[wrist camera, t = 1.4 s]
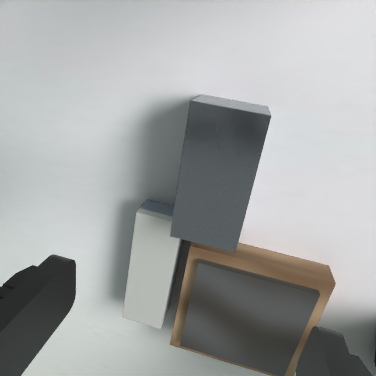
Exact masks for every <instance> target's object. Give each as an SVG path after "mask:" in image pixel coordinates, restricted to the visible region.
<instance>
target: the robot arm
mask: <svg viewBox="0 0 376 376" xmlns="http://www.w3.org/2000/svg"><path fill="white" fill-rule="evenodd" d="M75 295H76V263H75V261H74V260H72V259H68V258H65V257H61V256H57V255H51V256H49V257H48V258H47V259H46V260H45V261H43V262H42V263H41V264H40V265H39V266H38V267H37V266H33V265H32V266H30V267H28V268H26V269H24V270H22V271H20V272H18V273H16V274H15V275H13V276H12V277H11V278H10V279H9V280H8V281H6V282H5V283H4V284H3V286H2V287H0V376H21V375H22V373H23V372H24V371H25V369H26V368H27V367H28V365H29V364H30V363H31V361H32V360H33V359H34V358H35V356H36V355H37V354H38V352H39V351H40V350H41V348H42V347H43V346H44V344H45V343H46V342H47V340H48V339H49V338H50V336H51V335H52V334H53V332H54V331H55V330H56V329H57V327H58V326H59V325H60V323H61V322H62V321H63V319H64V318H65V317H66V315H67V314H68V313H69V311H70V309H71V308H72V305H73V303H74V300H75ZM296 376H372V375H371V373H370V372H369V371H368V369H367V368H366V367H365V365H364V364H363V362H362V361H361V360H360V358H359V357H357V356H354V355H350V354H349V352H348V349H347V346H346V343H345V340H344V337H343V335H342V334H341V333H339V332H335V331H332V330H328V329H324V328H321V327H317V326H314V327H313V328H312V329H311V332H310V334H309V336H308V338H307V341H306V343H305V345H304V347H303V350H302V352H301V354H300V357H299V359H298V363H297V369H296Z"/></svg>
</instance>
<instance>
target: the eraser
mask: <svg viewBox="0 0 376 376" xmlns="http://www.w3.org/2000/svg"><path fill="white" fill-rule="evenodd" d="M173 212H174V206H170V205H166V204H162V203H158V202H155V201H151V200H146V201H145V202H144V203H143V205H142V206H141V207H140V208H139V209H138V211H137V212H136V219H135V226H134V234H133V241H132V249H131V256H130V264H129V271H128V279H127V286H126V294H125V301H124V309H123V316H122V317H123V318H126V319H130V320H133V321H136V322H139V323H142V324H146V325H149V326H152V327H155V328H158V329H161V327H162V325H163V322H164V319H165V316H166V313H167V310H168V307H169V302H170V297H171V292H172V288H173V283H174V278H175V274H176V269H177V264H178V260H179V255H180V250H181V245H182V241H183V239H179V238H175V237H171V236H170V232H171V225H172V219H173Z"/></svg>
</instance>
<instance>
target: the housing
mask: <svg viewBox="0 0 376 376" xmlns="http://www.w3.org/2000/svg"><path fill="white" fill-rule="evenodd" d="M270 118H271V114H270V111H269V108H268V106H263V105H257V104H252V103H246V102H241V101H235V100H230V99H224V98H219V97H213V96H208V95H201V96H199V97H197V98H195V99H193V100H191V101H190V107H189V114H188V120H187V127H186V133H185V140H184V146H183V153H182V159H181V166H180V173H179V179H178V186H177V192H176V199H175V205H174V212H173V219H172V225H171V232H170V236H171V237H175V238H179V239H183V240H187V241H191V242H195V243H199V244H203V245H207V246H211V247H215V248H219V249H223V250H227V251H231V252H236V248H237V245H238V241H239V237H240V233H241V229H242V226H243V222H244V218H245V214H246V210H247V206H248V203H249V199H250V195H251V191H252V187H253V183H254V180H255V176H256V172H257V168H258V164H259V160H260V157H261V153H262V149H263V145H264V141H265V137H266V134H267V130H268V126H269V122H270Z"/></svg>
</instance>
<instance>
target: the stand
mask: <svg viewBox="0 0 376 376" xmlns="http://www.w3.org/2000/svg"><path fill="white" fill-rule="evenodd" d="M335 284H336V283H335V281H334V278H333V275H332V273H331V270H330V268H329V266H328V265H324V264H320V263H316V262H312V261H308V260H304V259H300V258H296V257H292V256H288V255H284V254H280V253H277V252H273V251H269V250H265V249H261V248H257V247H253V246H249V245H245V244H241V243H238V245H237V248H236V252H231V251H227V250H223V249H219V248H215V247H211V246H207V245H203V244H199V243H195V242H191V245H190V249H189V253H188V258H187V263H186V268H185V273H184V278H183V283H182V288H181V293H180V298H179V303H178V308H177V313H176V318H175V322H174V327H173V332H172V337H171V342H170V345H172V346H176V347H179V348H182V349H186V350H189V351H192V352H195V353H199V354H202V355H205V356H208V357H212V358H215V359H218V360H222V361H225V362H228V363H231V364H235V365H238V366H241V367H245V368H248V369H251V370H254V371H258V372H261V373H264V374H267V375H271V376H293V375H294V373H295V371H296V369H297V363H298V359H299V357H300V354H301V352H302V350H303V347H304V345H305V343H306V341H307V338H308V336H309V334H310V332H311V329H312V328H313V327H314V326H316V325H317V323H318V321H319V319H320V317H321V315H322V312H323V310H324V308H325V306H326V304H327V302H328V299H329V297H330V295H331V293H332V291H333V289H334V287H335Z"/></svg>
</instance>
